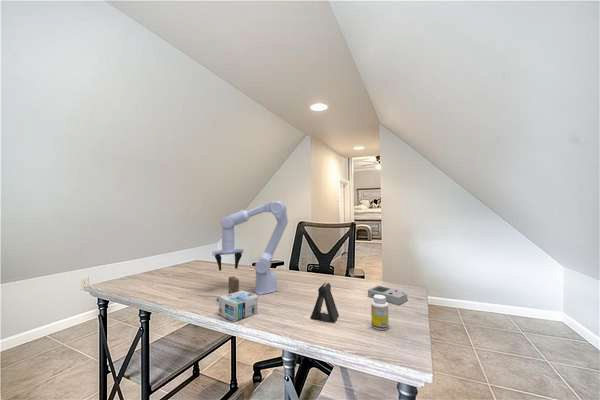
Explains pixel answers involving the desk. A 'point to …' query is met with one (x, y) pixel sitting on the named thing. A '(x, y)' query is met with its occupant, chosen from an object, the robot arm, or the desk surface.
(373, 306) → the supplement bottle
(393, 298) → the handheld gaming device
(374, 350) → the desk surface
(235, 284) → the brown rectangular block
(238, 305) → the light bulb box
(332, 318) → the black triangular stand
